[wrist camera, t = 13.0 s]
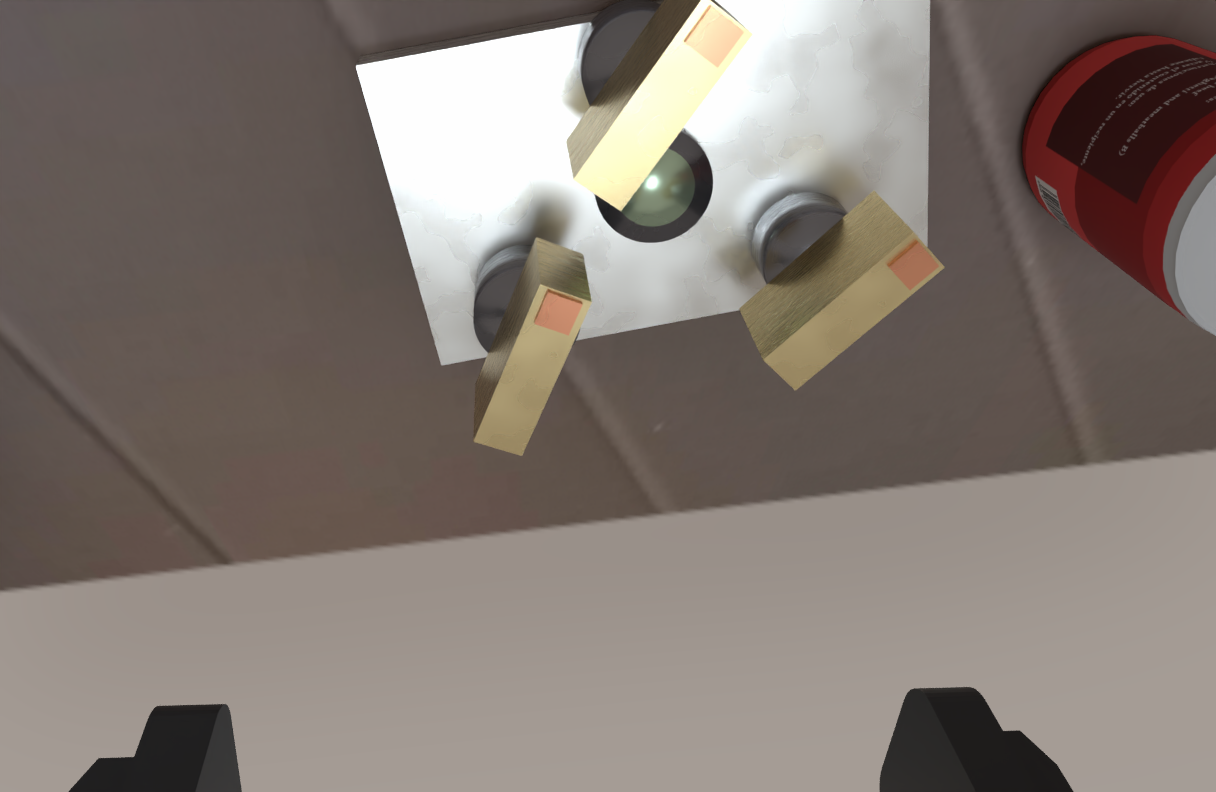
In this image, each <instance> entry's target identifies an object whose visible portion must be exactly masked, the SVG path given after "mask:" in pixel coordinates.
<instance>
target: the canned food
mask: <svg viewBox="0 0 1216 792" xmlns="http://www.w3.org/2000/svg"><path fill="white" fill-rule="evenodd" d="M1022 152H1023V165H1024V168H1025V172H1026V175H1027V179H1028V182H1029V184H1030V187H1031V189H1032V191H1033V193H1034V194H1035V196H1036V198H1037V200H1038V202H1039V203H1040V204H1041V205H1042V206H1043V207H1044V208H1045V209H1046V210H1047V212H1048V213H1049V214H1050V215H1052V216H1053V217H1054V218H1056V219H1057V220H1058V221H1059V222H1061V223H1062V224H1063V225H1065V226H1066V227H1067V228H1069V229H1070V230H1071V231H1072V232H1074V233H1075V234H1076V235H1078V236H1079V237H1080V238H1082V239H1083V240H1084V241H1085V242H1087V243H1088V244H1089V245H1091V246H1092V247H1093V248H1095V249H1096V250H1097V251H1098V252H1100V253H1101V254H1102V255H1104V256H1105V257H1106V258H1107V259H1109V260H1110V261H1111V262H1113V263H1114V264H1115V265H1117V266H1118V267H1119V268H1120V269H1122V270H1123V271H1124V272H1126V273H1127V274H1128V275H1130V276H1131V277H1132V278H1133V279H1135V280H1136V281H1137V282H1139V283H1140V284H1141V285H1143V286H1144V287H1145V288H1146V289H1148V290H1149V291H1150V292H1152V293H1153V294H1154V295H1155V296H1157V297H1158V298H1159V299H1161V300H1162V301H1163V302H1165V303H1166V304H1167V305H1169V306H1170V307H1172V308H1173V309H1175V310H1176V311H1178V312H1179V313H1180V314H1182V315H1183V316H1184V317H1185V318H1187V319H1188V320H1190V321H1191V322H1193V323H1194V324H1196V325H1198V326H1199V327H1201V328H1202V329H1204V330H1207V331H1209V332H1210V333H1212V334H1214V335H1215V336H1216V53H1214V52H1211V51H1208V50H1205V49H1202V48H1200V47H1197V46H1194V45H1191V44H1188V43H1185V42H1182V41H1179V40H1177V39H1174V38H1167V37H1161V36H1136V37H1129V38H1123V39H1119V40H1115V41H1111V42H1107V43H1104V44H1101V45H1099V46H1097V47H1095V48H1093V49H1090V50H1088V51H1086V52H1084V53H1083V54H1081V55H1080V56H1078V57H1077V58H1075V59H1074V60H1072V61H1071V62H1069V63H1068V64H1067V65H1066V66H1065V67H1064V68H1063V69H1062V70H1060V71H1059V72H1058V73H1057V74H1056V75H1055V76H1054V77H1053V78H1052V79H1051V81H1050V82H1049V83H1048V85H1047V86H1046V87H1045V88H1044V90H1043V91H1042V92H1041V94H1040V95H1039V97H1038V99H1037V101H1036V103H1035V104H1034V106H1033V108H1032V110H1031V112H1030V115H1029V118H1028V121H1027V124H1026V127H1025V131H1024V138H1023V145H1022Z"/></svg>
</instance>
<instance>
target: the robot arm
mask: <svg viewBox="0 0 1216 792" xmlns="http://www.w3.org/2000/svg"><path fill="white" fill-rule="evenodd" d="M69 792H242V791H241V784H240V776H239V769H238V763H237V755H236V749H235V742H234V735H233V728H232V721H231V715H230V710H229V708H228V706H227V705H226V704H217V705H216V704H214V705H180V706H179V705H178V706H157V707H155V708H154V709H153V711H152V712H151V714H150V716H149V718H148V721H147V723H146V726H145V729H144V732H143V734H142V737H141V740H140V743H139V745H138V748H137V751H136V754H135V756H134V757H125V758H99V759H98V760H97V761H96V762H95V763H94V764H93V765H92V766H91V767H90V768H89V770H88V771H87V772H86V773H85V774H84V775H83V776H82V777H81V778H80V780H79V781H78V782H77V783H76V784H75V785H74V786H73V787H72V788H71V790H70V791H69ZM880 792H1073V790H1072V789H1071V787H1070V785H1069V784H1068V782H1067V780H1066V779H1065V777H1064V776H1063V774H1062V773H1061V771H1060V769H1059V767H1058V766H1057V764H1056V763H1054V762H1053V761H1052V760H1051V759H1050V758H1049V757H1048V756H1047V755H1045V753H1044V752H1043V751H1041V750H1040V749H1039V748H1038V747H1037V746H1036V745H1035V744H1034V743H1033V742H1032V741H1031V740H1030V739H1028V738H1027V737H1026V736H1025V735H1024V734H1023V733H1022V732H1021V731H1003V730H1002V729H1001V727H1000V725H999V723H998V722H997V720H996V718H995V716H994V715H993V713H992V711H991V709H990V708H989V706H988V704H987V702H986V701H985V699H984V698H983V696H982V695H981V694H980V693H979V692H978V691H977V690H976V689H974V688H971V687H956V688H919V689H912V690H910V691H909V692H908V693H907V695H906V697H905V699H904V702H903V705H902V708H901V711H900V715H899V717H898V720H897V723H896V727H895V730H894V733H893V736H892V739H891V742H890V745H889V748H888V751H887V754H886V757H885V761H884V764H883V767H882V771H881V775H880Z"/></svg>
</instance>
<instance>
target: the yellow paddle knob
mask: <svg viewBox="0 0 1216 792" xmlns="http://www.w3.org/2000/svg"><path fill="white" fill-rule="evenodd" d="M752 35H753V34H752V33H751V32H750V31H749V30H748V29H747V28H746V27H745V26H744V25H742V24H741V23H740V22H739V21H738V20H737V19H736V18H735V17H734V16H733V15H732V14H731V13H730V12H729V11H728V10H726V9H725V8H724V7H723V6H722V5H720V4H719V3H718V2H716V1H715V0H663V2H662V3H661V4H658V3H656V2H653V1H650V0H623V1H619V2H617V3H614V4H612V5H610V6H608V7H607V8H605V9H604V10H602V11H601V12H600V13H598V14H597V15H596V16H595V17H594V18H593V20H592V21H591V22H590V24H589V25H588V27H587V28H586V30H585V32H584V34H583V36H582V39H581V42H580V46H579V51H578V69H579V74H580V78H581V81H582V85H583V88H584V92H585V95H586V98H587V100H588V103H589V105H590V107H589V108H588V110H587V111H586V113H585V114H584V115H583V117H582V118H581V120H580V121H579V123H578V124H577V125H576V127H575V128H574V130H573V131H572V133H571V134H570V136H569V137H568V138H567V140H566V145H567V150H568V155H569V160H570V165H571V170H572V175H573V180H574V181H576V182H577V183H579V184H580V185H582V186H583V187H585V188H586V189H588V190H589V191H591V192H592V193H594V194H596V195H597V196H599V197H600V198H602V199H603V200H605V201H606V202H608V203H609V204H611V205H612V206H614V207H615V208H617V209H618V210H620V211H622V209H623V208H624V207H625V205H626V204H627V203H628V201H629V200H630V199H631V197H632V196H633V195H634V193H635V192H636V191H637V189H638V188H639V187H640V185H641V184H642V183H643V181H644V180H645V178H646V177H647V176H648V174H649V173H650V172H651V170H652V169H653V168H654V166H655V165H656V164H657V162H658V161H659V160H660V158H661V157H662V156H663V154H664V153H665V152H666V150H667V149H668V148H669V146H670V145H671V144H672V142H673V141H674V140H675V138H676V137H677V136H678V134H679V133H680V131H681V130H682V129H683V127H684V126H685V125H686V123H687V122H688V121H689V119H690V118H691V117H692V115H693V114H694V113H695V111H696V110H697V109H698V107H699V106H700V105H701V103H702V102H703V101H704V99H705V98H706V97H707V95H708V94H709V93H710V91H711V90H712V89H713V87H714V86H715V84H716V83H717V82H718V80H719V79H720V78H721V76H722V75H723V74H724V72H725V71H726V70H727V68H728V67H729V66H730V64H731V63H732V62H733V60H734V59H735V58H736V56H737V55H738V54H739V52H740V51H741V50H742V48H743V47H744V46H745V44H746V43H747V42H748V40H749V39H750V37H751V36H752Z"/></svg>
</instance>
